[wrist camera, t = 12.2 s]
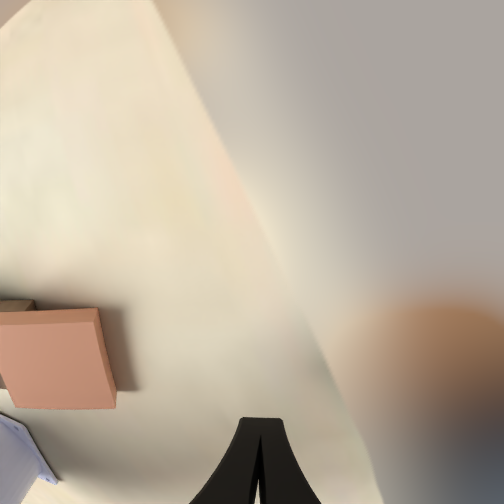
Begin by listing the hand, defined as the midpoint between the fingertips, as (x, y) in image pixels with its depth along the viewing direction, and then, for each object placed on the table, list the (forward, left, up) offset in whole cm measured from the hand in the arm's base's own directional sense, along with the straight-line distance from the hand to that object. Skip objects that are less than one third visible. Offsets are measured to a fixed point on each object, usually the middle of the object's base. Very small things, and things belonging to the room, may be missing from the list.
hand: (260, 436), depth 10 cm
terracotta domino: (-8, 0, -4) cm, 8 cm away
